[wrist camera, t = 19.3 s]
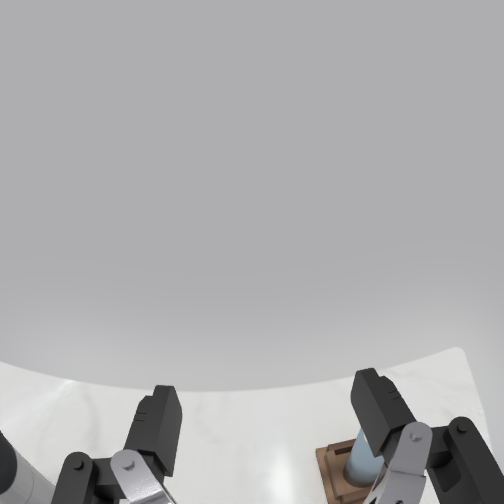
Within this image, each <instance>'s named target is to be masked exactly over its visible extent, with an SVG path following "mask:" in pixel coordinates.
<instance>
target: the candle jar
mask: <svg viewBox="0 0 504 504" xmlns="http://www.w3.org/2000/svg"><path fill="white" fill-rule="evenodd" d="M383 461H384V458H383V456H379V457H376V458H374V456H373V454H372V451H371V449H370V446H369V444H368V442H367V439H366V437H365V434H364V432H363V430H362V427H361V429H360V431H359V434H358V436H357V439H356V441H355V443H354V446H353V448H352V450H351V452H350V454H349V457H348V459H347V461H346V463H345V465H344V467H343V477H344V479H345V481H346V482H347V483H348V484H350V485H351V486H354V487H357V488H367V487H371V486H373V484H374V482H375V480H376V478H377V475H378V473H379V471H380V468H381V466H382V463H383Z"/></svg>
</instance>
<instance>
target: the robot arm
mask: <svg viewBox="0 0 504 504" xmlns="http://www.w3.org/2000/svg"><path fill="white" fill-rule="evenodd" d="M351 403H352V406H353V408H354V411H355V413H356V415H357V418H358V420H359V423H360V425H361V427H362V430H363V432H364V434H365V437H366V439H367V442H368V444H369V446H370V449H371V451H372V454H373V456H374V458H376V457H379V456H383V458H384V461H383V463H382V466H381V468H380V471H379V473H378V475H377V478H376V480H375V482H374V484H373V487H372V489H371V491H370V493H369V495H368V497H367V498H366V500H365V501H364V503H363V504H419V502H420V499H421V496H422V493H423V490H424V487H425V483H426V476H424V470H425V469H426V470H427V472H428V474H429V477H430V479H431V482H432V484H433V487H434V489H435V492H436V494H437V497H438V500H439V502H440V504H504V476H503V474H502V472H501V470H500V468H499V466H498V464H497V462H496V461H495V459H494V457H493V455H492V453H491V452H490V450H489V448H488V446H487V445H486V443H485V441H484V440H483V438H482V436H481V435H480V433H479V431H478V430H477V428H476V427H475V425H474V423H473V422H472V421H471V420H470V419H469V418H467V417H456V418H454V419H453V420H452V421H451V422H450V424H449V425H448V426H442V427H434V428H430V427H429V426H428V425H426V424H425V423H422V422H417V421H416V419H415V417H414V416H413V414H412V412H411V411H410V409H409V408H408V406H407V404H406V403H405V401H404V399H403V398H402V397H401V395H400V393H399V391H397V388H396V386H395V385H394V383H393V382H392V381H391V380H389V379H388V378H387V377H385V376H381V377H379V375H378V374H377V372H376V370H375V369H374V368H368V369H364V370H360V371H357V372H356V374H355V378H354V382H353V386H352V390H351ZM133 420H134V421H133V422H132V425H131V428H130V431H129V434H128V437H127V440H126V443H125V446H124V448H123V450H121V451H119V452H117V453H115V454H114V455H113V457H111V458H101V459H91V458H90V457H89V456H88V455H87V454H85V453H83V452H73V453H71V454H69V455H68V456H67V457H66V459H65V461H64V464H63V467H62V469H61V472H60V475H59V478H58V482H57V485H56V486H55V485H53V484H52V483H51V482H50V481H49V480H47V479H46V478H45V477H44V476H43V475H42V474H41V473H39V472H38V471H37V470H36V469H35V468H34V467H33V466H32V465H31V464H30V463H29V462H28V461H27V460H26V459H25V458H24V457H23V456H22V455H21V454H20V453H19V452H18V451H17V450H16V449H15V448H14V447H13V446H12V445H11V444H10V443H9V442H8V440H7V439H6V438H5V437H4V436H3V434H2V433H1V431H0V504H119V501H120V499H128V501H129V503H130V504H178V503H177V502H176V501H175V499H174V498H173V497H172V495H171V494H170V493H169V491H168V490H167V488H166V487H165V486H164V484H163V482H164V476H168V477H173V470H174V464H175V457H176V451H177V445H178V439H179V434H180V428H181V422H182V408H181V405H180V402H179V399H178V397H177V394H176V391H175V388H174V386H164V385H157V386H156V387H155V389H154V392H153V395H152V396H145V397H144V398H143V399H142V400H141V401H140V403H139V404H138V407H137V410H136V414H135V416H134V419H133Z"/></svg>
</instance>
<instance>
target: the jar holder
mask: <svg viewBox="0 0 504 504" xmlns="http://www.w3.org/2000/svg"><path fill="white" fill-rule="evenodd" d="M356 439H357V438H356ZM356 439H352V440H348V441H344V442H340V443H335V444H330V445H328V447H323V448H318V449H316V456H317V460H318V464H319V468H320V472H321V476H322V480H323V484H324V488H325V492H326V497H327V501H328V504H363V503H364V501H365V500H366V498H367V497H368V495H369V493H370V491H371V489H372V487H373V486H371V487H367V488H357V487H354V486H351V485H350V484H348V483H347V482H346V481H345V479H344V477H343V467H344V465H345V463H346V461H347V459H348V457H349V454H350V452H351V450H352V448H353V446H354V443H355V441H356Z"/></svg>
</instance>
